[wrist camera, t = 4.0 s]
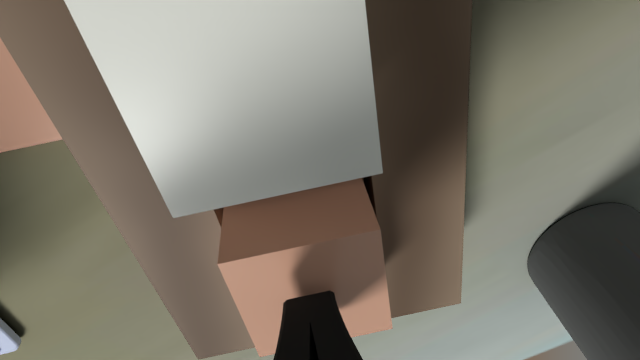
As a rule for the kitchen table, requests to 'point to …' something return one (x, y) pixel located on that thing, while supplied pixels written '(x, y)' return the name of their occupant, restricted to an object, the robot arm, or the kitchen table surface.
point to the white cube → (239, 93)
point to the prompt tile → (20, 109)
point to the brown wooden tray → (205, 227)
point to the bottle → (593, 278)
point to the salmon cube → (305, 258)
